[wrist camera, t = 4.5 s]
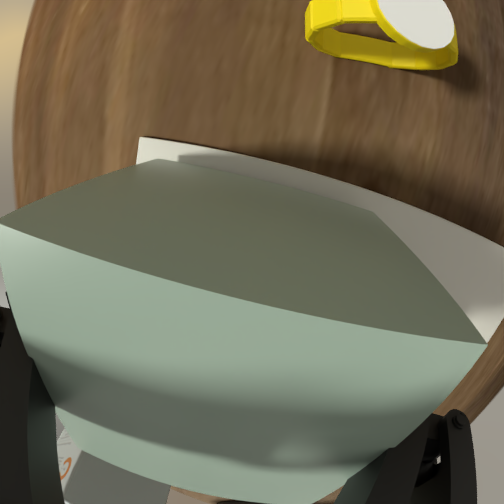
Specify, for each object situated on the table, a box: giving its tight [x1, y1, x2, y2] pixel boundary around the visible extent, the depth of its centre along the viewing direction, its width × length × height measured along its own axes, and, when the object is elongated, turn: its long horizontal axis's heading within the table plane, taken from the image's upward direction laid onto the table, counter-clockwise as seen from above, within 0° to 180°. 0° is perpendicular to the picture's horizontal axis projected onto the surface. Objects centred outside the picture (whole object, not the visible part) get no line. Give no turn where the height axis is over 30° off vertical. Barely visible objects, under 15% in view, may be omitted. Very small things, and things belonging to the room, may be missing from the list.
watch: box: [305, 0, 458, 70], centre depth 7 cm, size 6×3×6 cm, turn 89°
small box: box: [57, 429, 171, 504], centre depth 15 cm, size 8×6×13 cm
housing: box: [0, 158, 488, 504], centre depth 10 cm, size 10×10×9 cm
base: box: [136, 137, 504, 343], centre depth 15 cm, size 11×26×1 cm, turn 77°
